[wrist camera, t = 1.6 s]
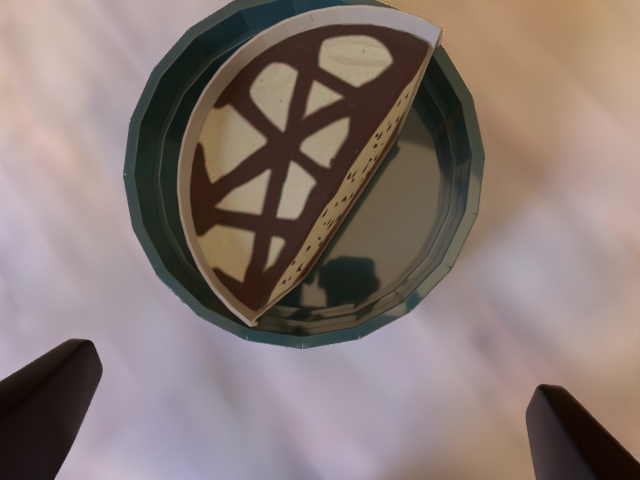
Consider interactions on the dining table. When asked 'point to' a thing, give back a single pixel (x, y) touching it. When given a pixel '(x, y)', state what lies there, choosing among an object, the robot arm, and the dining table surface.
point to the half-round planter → (293, 144)
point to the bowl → (361, 222)
